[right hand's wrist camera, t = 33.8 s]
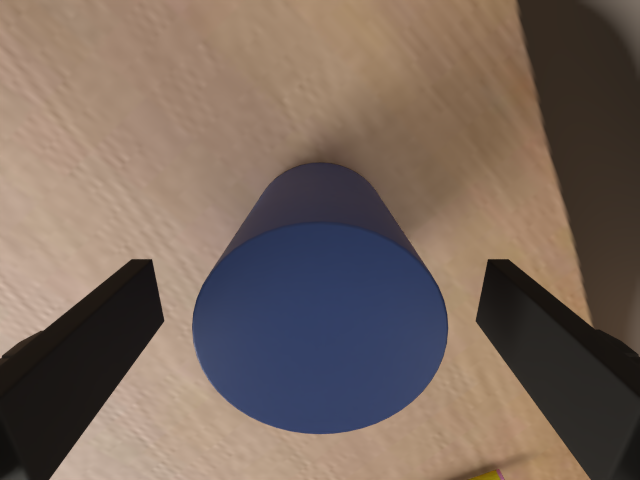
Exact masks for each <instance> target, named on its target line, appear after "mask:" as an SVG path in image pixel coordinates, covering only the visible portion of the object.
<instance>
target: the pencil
mask: <svg viewBox="0 0 640 480" xmlns="http://www.w3.org/2000/svg"><path fill="white" fill-rule="evenodd" d="M468 480H505V479H504V477H503V475H502V474H501V472H500V470H499V469H497V470H494V471H491V472H488V473H485V474H482V475H479V476H476V477H474V478H471V479H468Z"/></svg>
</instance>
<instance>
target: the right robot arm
mask: <svg viewBox="0 0 640 480" xmlns="http://www.w3.org/2000/svg"><path fill="white" fill-rule="evenodd" d="M163 322H164V317H163V312H162V307H161V302H160V297H159V292H158V287H157V282H156V277H155V272H154V267H153V262H152V259H131V260H130V261H129V262H128V263H127V264H125V265H124V266H123V267H122V268H120V269H119V270H118V271H117V272H115V273H114V274H113V275H112V276H110V277H109V278H108V279H107V280H106V281H104V282H103V283H102V284H101V285H99V286H98V287H97V288H96V289H94V290H93V291H92V292H91V293H89V294H88V295H87V296H86V297H85V298H83V299H82V300H81V301H80V302H78V303H77V304H76V305H75V306H73V307H72V308H71V309H70V310H68V311H67V312H66V313H65V314H64V315H62V316H61V317H60V318H59V319H57V320H56V321H55V322H54V323H52V324H51V325H50V326H49V327H47V328H46V329H45V330H44V331H40V332H38V333H36V334H34V335H32V336H30V337H28V338H26V339H25V340H23V341H21V342H19V343H18V344H16V345H15V346H14V347H13V348H11V349H10V350H9V351H8V352H6V353H5V354H4V355H2V358H1V359H0V480H49V479H50V478H51V476H52V475H53V474H54V472H55V471H56V469H57V468H58V467H59V465H60V464H61V463H62V461H63V460H64V458H65V457H66V456H67V454H68V453H69V452H70V450H71V449H72V447H73V446H74V445H75V443H76V442H77V441H78V439H79V438H80V436H81V435H82V434H83V432H84V431H85V430H86V428H87V427H88V425H89V424H90V423H91V421H92V420H93V419H94V417H95V416H96V414H97V413H98V412H99V410H100V409H101V408H102V406H103V405H104V403H105V402H106V401H107V399H108V398H109V397H110V395H111V394H112V392H113V391H114V390H115V388H116V387H117V386H118V384H119V383H120V381H121V380H122V379H123V377H124V376H125V375H126V373H127V372H128V370H129V369H130V368H131V366H132V365H133V364H134V362H135V361H136V359H137V358H138V357H139V355H140V354H141V353H142V351H143V350H144V348H145V347H146V346H147V344H148V343H149V341H150V340H151V339H152V337H153V336H154V335H155V333H156V332H157V330H158V329H159V328H160V326H161V325H162V324H163ZM476 322H477V324H478V325H479V326H480V328H481V329H482V331H483V332H484V333H485V335H486V336H487V337H488V339H489V340H490V342H491V343H492V344H493V346H494V347H495V348H496V350H497V351H498V353H499V354H500V355H501V357H502V358H503V359H504V361H505V362H506V364H507V365H508V366H509V368H510V369H511V370H512V372H513V373H514V375H515V376H516V377H517V379H518V380H519V381H520V383H521V384H522V386H523V387H524V388H525V390H526V391H527V392H528V394H529V395H530V397H531V398H532V399H533V401H534V402H535V403H536V405H537V406H538V408H539V409H540V410H541V412H542V413H543V414H544V416H545V417H546V419H547V420H548V421H549V423H550V424H551V425H552V427H553V428H554V430H555V431H556V432H557V434H558V435H559V436H560V438H561V439H562V441H563V442H564V443H565V445H566V446H567V447H568V449H569V450H570V452H571V453H572V454H573V456H574V457H575V458H576V460H577V461H578V463H579V464H580V465H581V467H582V468H583V469H584V471H585V472H586V474H587V475H588V476H589V478H590V479H591V480H640V357H639V356H638V354H637V353H636V352H635V351H633V350H632V349H631V348H629V347H628V346H627V345H626V344H624V343H623V342H622V341H620V340H618V339H616V338H614V337H612V336H611V335H609V334H607V333H605V332H603V331H601V330H595V329H594V328H593V327H591V326H590V325H589V324H588V323H586V322H585V321H584V320H583V319H581V318H580V317H579V316H578V315H576V314H575V313H574V312H573V311H572V310H570V309H569V308H568V307H567V306H565V305H564V304H563V303H562V302H560V301H559V300H558V299H557V298H555V297H554V296H553V295H552V294H551V293H549V292H548V291H547V290H546V289H544V288H543V287H542V286H541V285H539V284H538V283H537V282H536V281H534V280H533V279H532V278H531V277H530V276H528V275H527V274H526V273H525V272H523V271H522V270H521V269H520V268H518V267H517V266H516V265H515V264H513V263H512V262H511V261H510V260H508V259H488V262H487V267H486V272H485V277H484V282H483V287H482V292H481V297H480V302H479V307H478V312H477V317H476Z"/></svg>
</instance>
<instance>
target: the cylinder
mask: <svg viewBox="0 0 640 480" xmlns="http://www.w3.org/2000/svg"><path fill="white" fill-rule="evenodd" d="M192 331H193V343H194V347H195V351H196V355H197V358H198V360H199V363H200V365H201V368H202V370H203V371H204V373H205V375H206V376H207V378H208V380H209V381H210V382H211V384H212V385H213V386H214V388H215V389H216V390H217V391H218V392H219V393H220V394H221V395H222V396H223V397H224V398H225V399H226V400H227V401H228V402H229V403H230V404H232V405H233V406H234V407H236V408H237V409H238V410H240V411H241V412H243V413H245V414H246V415H248V416H250V417H252V418H254V419H256V420H258V421H260V422H262V423H265V424H267V425H270V426H273V427H276V428H280V429H284V430H288V431H293V432H299V433H308V434H333V433H341V432H348V431H352V430H357V429H361V428H364V427H367V426H370V425H373V424H376V423H378V422H380V421H382V420H385V419H387V418H389V417H391V416H392V415H394V414H396V413H397V412H399V411H401V410H402V409H403V408H405V407H406V406H407V405H409V404H410V403H411V402H412V401H413V400H414V399H416V398H417V397H418V396H419V395H420V394H421V393H422V392H423V390H424V389H425V388H426V387H427V385H428V384H429V383H430V382H431V380H432V379H433V377H434V375H435V373H436V372H437V370H438V368H439V366H440V363H441V361H442V359H443V356H444V352H445V348H446V344H447V335H448V318H447V311H446V307H445V302H444V299H443V296H442V294H441V292H440V289H439V287H438V285H437V283H436V282H435V280H434V278H433V277H432V275H431V273H430V272H429V270H428V269H427V267H426V266H425V264H424V263H423V261H422V260H421V258H420V257H419V255H418V254H417V252H416V251H415V249H414V248H413V246H412V245H411V243H410V242H409V240H408V239H407V237H406V236H405V234H404V233H403V231H402V230H401V228H400V227H399V225H398V224H397V222H396V221H395V219H394V218H393V216H392V215H391V213H390V212H389V210H388V209H387V207H386V206H385V204H384V203H383V201H382V200H381V198H380V196H379V195H378V193H377V192H376V190H375V189H374V188H373V187H372V186H371V184H370V183H369V182H368V181H366V180H365V179H364V178H363V177H362V176H360V175H359V174H357V173H356V172H354V171H352V170H350V169H348V168H346V167H343V166H340V165H336V164H331V163H309V164H304V165H300V166H297V167H294V168H292V169H290V170H288V171H286V172H284V173H283V174H281V175H280V176H278V177H277V178H276V179H275V180H274V181H273V182H271V183H270V185H269V186H268V187H267V188H266V189H265V191H264V192H263V194H262V195H261V197H260V198H259V200H258V201H257V203H256V204H255V206H254V207H253V209H252V210H251V212H250V213H249V215H248V216H247V218H246V219H245V221H244V222H243V224H242V226H241V227H240V229H239V230H238V232H237V233H236V235H235V236H234V238H233V239H232V241H231V242H230V244H229V245H228V247H227V248H226V250H225V251H224V253H223V254H222V256H221V257H220V259H219V260H218V262H217V263H216V265H215V266H214V268H213V269H212V271H211V272H210V274H209V276H208V277H207V279H206V280H205V282H204V284H203V285H202V288H201V290H200V292H199V295H198V297H197V300H196V304H195V308H194V312H193V323H192Z"/></svg>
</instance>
